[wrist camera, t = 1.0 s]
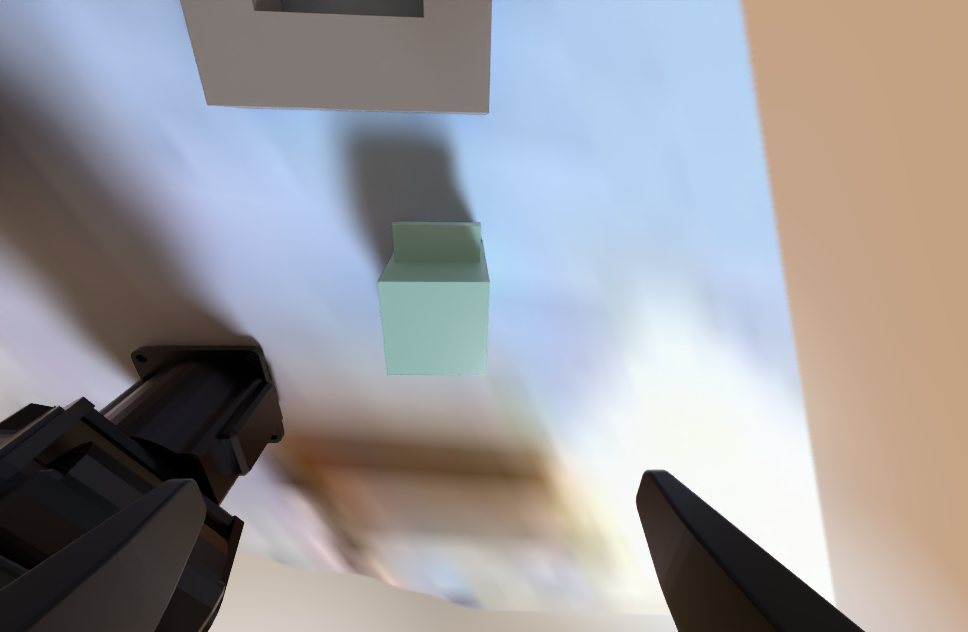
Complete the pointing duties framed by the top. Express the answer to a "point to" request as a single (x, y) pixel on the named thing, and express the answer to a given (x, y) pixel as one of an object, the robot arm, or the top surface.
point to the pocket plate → (343, 57)
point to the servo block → (435, 300)
